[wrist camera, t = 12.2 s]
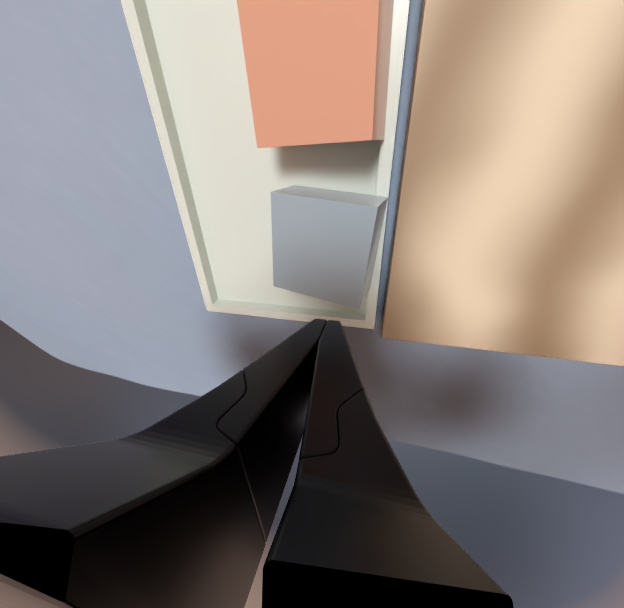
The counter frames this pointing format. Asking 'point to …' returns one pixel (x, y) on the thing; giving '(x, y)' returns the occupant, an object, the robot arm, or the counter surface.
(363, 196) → the grey box
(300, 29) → the terracotta block
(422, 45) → the birch board
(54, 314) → the counter surface
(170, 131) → the tray
